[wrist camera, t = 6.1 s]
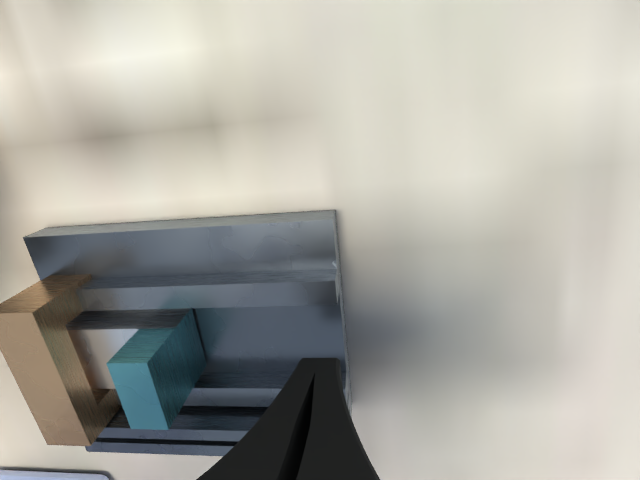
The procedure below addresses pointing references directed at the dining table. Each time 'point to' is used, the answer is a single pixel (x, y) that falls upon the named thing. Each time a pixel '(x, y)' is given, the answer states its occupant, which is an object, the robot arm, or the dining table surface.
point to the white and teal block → (141, 359)
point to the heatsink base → (179, 293)
